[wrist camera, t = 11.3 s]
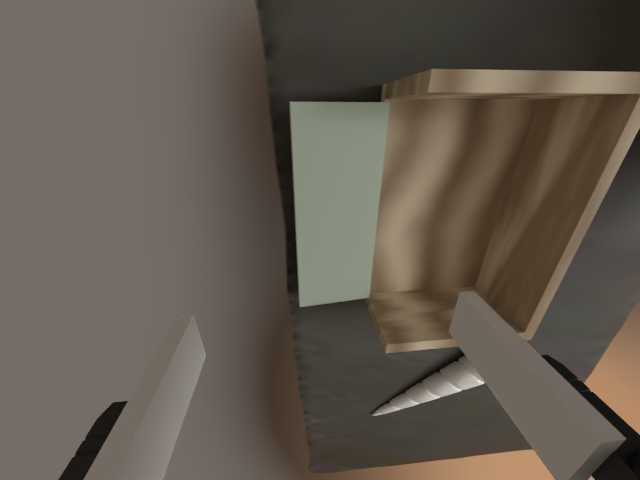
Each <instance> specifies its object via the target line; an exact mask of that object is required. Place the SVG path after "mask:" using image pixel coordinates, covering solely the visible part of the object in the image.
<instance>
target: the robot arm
mask: <svg viewBox="0 0 640 480" xmlns="http://www.w3.org/2000/svg"><path fill="white" fill-rule="evenodd" d="M449 333H450V335H451V336H452V337H453V339H454V340H455V341H456V343H457V344H458V346H459V347H460V348H461V350H462V351H463V353H464V354H465V355H466V357H467V358H468V359H469V361H470V362H471V364H472V365H473V366H474V368H475V369H476V371H477V372H478V373H479V375H480V376H481V377H482V379H483V380H484V382H485V383H486V384H487V386H488V387H489V389H490V390H491V391H492V393H493V394H494V395H495V397H496V398H497V400H498V401H499V402H500V404H501V405H502V407H503V408H504V409H505V411H506V412H507V413H508V415H509V416H510V418H511V419H512V420H513V422H514V423H515V425H516V426H517V427H518V429H519V430H520V431H521V433H522V434H523V436H524V437H525V438H526V440H527V441H528V443H529V444H530V445H531V447H532V448H533V449H534V451H535V452H536V454H537V455H538V456H539V458H540V459H541V460H542V462H543V463H544V464H545V466H546V467H547V469H548V470H549V472H550V473H551V474H552V476H553V477H554V479H555V480H588V479H589V478H590V477H591V476H592V477H593V478H594V479H595V480H640V435H639V434H638V433H637V432H636V431H635V430H633V429H632V428H631V427H630V426H629V425H628V424H627V423H626V422H625V421H624V420H623V419H621V418H620V417H619V416H618V415H617V414H616V413H615V412H614V411H613V410H612V409H611V408H609V406H607V405H606V404H605V403H604V402H603V401H602V400H601V399H600V398H599V397H598V396H597V395H596V394H594V393H593V392H591V391H590V389H589V388H588V387H587V386H586V385H585V384H584V383H583V382H581V381H579V380H578V378H577V377H576V376H575V375H574V374H573V373H572V372H571V371H570V370H568V369H567V368H566V367H565V366H564V365H563V364H561V363H559V362H558V361H556V360H555V359H553V358H552V357H550V356H548V355H539V354H538V353H537V352H536V351H535V350H534V349H533V348H532V347H531V346H530V345H529V344H528V343H527V342H526V341H525V340H524V339H523V338H522V337H521V336H520V335H519V334H518V333H517V332H516V331H515V330H514V329H513V328H512V327H511V326H510V325H509V324H508V323H506V322H505V321H504V320H503V319H502V318H501V317H500V316H499V315H498V314H497V313H496V312H495V311H494V310H493V309H492V308H491V307H490V306H489V305H488V304H487V303H486V302H485V301H484V300H483V299H482V298H481V297H480V296H479V295H478V294H477V293H476V292H475V291H468V292H460V293H459V297H458V300H457V304H456V307H455V311H454V314H453V318H452V321H451V325H450V329H449ZM205 357H206V353H205V350H204V347H203V344H202V341H201V337H200V334H199V331H198V328H197V325H196V322H195V319H194V315H182V316H176V317H175V319H174V321H173V322H172V324H171V326H170V328H169V330H168V331H167V333H166V335H165V337H164V338H163V340H162V342H161V344H160V345H159V347H158V349H157V351H156V352H155V354H154V356H153V358H152V360H151V361H150V363H149V365H148V367H147V368H146V370H145V372H144V374H143V376H142V377H141V379H140V381H139V383H138V385H137V386H136V388H135V390H134V391H133V393H132V395H131V397H130V399H129V400H128V401H124V402H114V403H112V404H111V405H110V406H109V408H107V410H105V411H104V412H103V413H102V414H101V416H100V417H99V418H98V419H97V420H96V422H95V423H94V425H93V426H92V428H91V430H90V431H89V433H88V434H87V436H86V439H85V441H83V442H82V444H81V445H80V447H79V448H78V450H77V452H76V455H75V457H73V458H72V459H71V461H70V463H69V464H68V466H67V467H66V469H65V470H64V472H63V474H62V475H61V477H60V478H59V480H163V478H164V475H165V472H166V469H167V466H168V463H169V460H170V457H171V454H172V451H173V449H174V446H175V443H176V440H177V437H178V435H179V432H180V429H181V426H182V423H183V420H184V417H185V414H186V412H187V409H188V406H189V403H190V400H191V397H192V395H193V392H194V389H195V386H196V383H197V380H198V377H199V374H200V372H201V369H202V366H203V363H204V360H205Z"/></svg>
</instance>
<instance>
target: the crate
mask: <svg viewBox="0 0 640 480" xmlns="http://www.w3.org/2000/svg"><path fill="white" fill-rule="evenodd" d="M381 102H390V107H389V116H388V125H387V135H386V144H385V153H384V163H383V172H382V182H381V191H380V200H379V210H378V219H377V229H376V238H375V247H374V257H373V266H372V275H371V285H370V294H369V298H364V300H365V303H366V305H367V308H368V310H369V313H370V315H371V318H372V320H373V323H374V325H375V328H376V330H377V333H378V335H379V338H380V340H381V343H382V345H383V348H384V350H385V353H392V352H403V351H414V350H425V349H436V348H447V347H458V344H457V343H456V341H455V340H454V339H453V337H452V336H451V335H450V333H449V329H450V325H451V321H452V318H453V314H454V311H455V307H456V304H457V300H458V297H459V293H460V292H468V291H475V292H476V293H477V294H478V295H479V296H480V297H481V298H482V299H483V300H484V301H485V302H486V303H487V304H488V305H489V306H490V307H491V308H492V309H493V310H494V311H495V312H496V313H497V314H498V315H499V316H500V317H501V318H502V319H503V320H504V321H505V322H506V323H508V324H509V325H510V326H511V327H512V328H513V329H514V330H515V331H516V332H517V333H518V334H519V335H520V336H521V337H522V338H523V339H524V340H531V339H532V337H533V335H534V333H535V331H536V329H537V327H538V325H539V323H540V321H541V320H542V318H543V316H544V314H545V312H546V310H547V308H548V306H549V304H550V302H551V300H552V298H553V296H554V294H555V292H556V290H557V288H558V286H559V284H560V282H561V281H562V279H563V277H564V275H565V273H566V271H567V269H568V267H569V265H570V263H571V261H572V259H573V257H574V255H575V253H576V251H577V249H578V247H579V245H580V243H581V241H582V240H583V238H584V236H585V234H586V232H587V230H588V228H589V226H590V224H591V222H592V220H593V218H594V216H595V214H596V212H597V210H598V208H599V206H600V204H601V202H602V200H603V199H604V197H605V195H606V193H607V191H608V189H609V187H610V185H611V183H612V181H613V179H614V177H615V175H616V173H617V171H618V169H619V167H620V165H621V163H622V161H623V159H624V158H625V156H626V154H627V152H628V150H629V148H630V146H631V144H632V142H633V140H634V138H635V136H636V134H637V132H638V130H639V128H640V72H610V71H543V70H477V69H430V70H427V71H423V72H420V73H417V74H414V75H411V76H408V77H404V78H401V79H398V80H395V81H392V82H389V83H385V84H382V95H381Z"/></svg>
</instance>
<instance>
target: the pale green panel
mask: <svg viewBox="0 0 640 480" xmlns="http://www.w3.org/2000/svg"><path fill="white" fill-rule="evenodd" d="M389 107H390V102H289V111H290V131H291V151H292V172H293V192H294V212H295V233H296V253H297V273H298V294H299V305H300V307H305V306H312V305H320V304H327V303H334V302H342V301H349V300H356V299H363V298H369V294H370V285H371V275H372V266H373V257H374V247H375V238H376V229H377V219H378V210H379V200H380V191H381V182H382V172H383V163H384V153H385V144H386V135H387V125H388V116H389Z"/></svg>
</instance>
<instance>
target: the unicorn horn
mask: <svg viewBox="0 0 640 480" xmlns="http://www.w3.org/2000/svg"><path fill="white" fill-rule="evenodd" d="M439 371H440V372H439V373H438V372H435V373H434V374H432V375H430V376H429V377H427V378H425V379H424V380H422V383H420V382H419V383H417V384H416V385H414V386H412V387H411V388H409V389H408V390H406V391H405V393H401V394H400V395H398V396H396V397H395V398H393V399H392V400H390V401H389V403H386V404H384V405H383V406H381V407H380V408H378V409H377V410H376V411H375V412H374V413H373V414H372V416H376V415H381V414H385V413H389V412H393V411H397V410H400V409H404V408H407V407H411V406H414V405H418V404H419V403H424V402H428V401H431V400H434V399H437V398H440V397H444V396H447V395H450V394H453V393H456V392H459V391H461V390H466V389H469V388H472V387H475V386H478V385H482V384H484V380H483V379H482V377H481V376H480V375H479V373H478V372H477V371H476V369H475V368H474V366H473V365H472V364H471V362H470V361H469V359H468V358H467V357H466V355H464V356H462V357H460V358H459V359H458V361H457V362H456V361H454V362H452V363H450V364H449V365H447V366H445V367H444V368H442V369H440V370H439Z"/></svg>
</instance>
